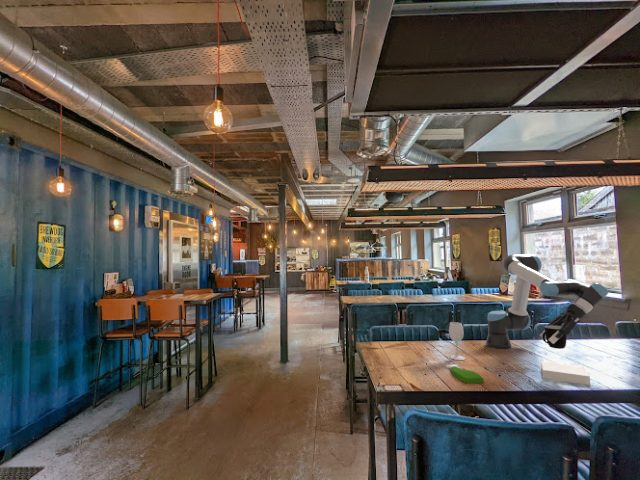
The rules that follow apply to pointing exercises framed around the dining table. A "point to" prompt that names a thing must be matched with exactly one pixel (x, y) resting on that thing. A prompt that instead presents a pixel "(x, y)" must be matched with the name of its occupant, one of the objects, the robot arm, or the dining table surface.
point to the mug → (551, 331)
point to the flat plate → (565, 372)
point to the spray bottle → (465, 374)
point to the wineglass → (456, 337)
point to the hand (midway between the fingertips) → (546, 339)
